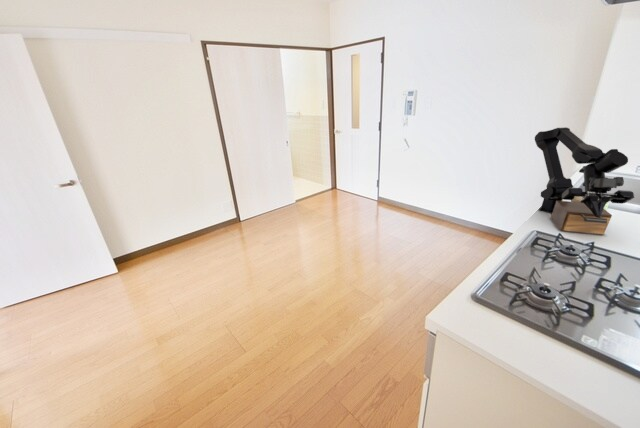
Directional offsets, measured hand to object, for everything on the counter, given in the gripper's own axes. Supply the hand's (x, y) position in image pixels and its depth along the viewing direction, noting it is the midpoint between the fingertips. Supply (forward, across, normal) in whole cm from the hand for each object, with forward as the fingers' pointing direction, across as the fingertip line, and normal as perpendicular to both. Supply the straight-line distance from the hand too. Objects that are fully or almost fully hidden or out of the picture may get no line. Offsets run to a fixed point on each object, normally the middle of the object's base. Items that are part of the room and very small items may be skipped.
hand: (598, 216), depth 101 cm
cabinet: (-1, 0, +15) cm, 15 cm away
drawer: (+1, 0, +12) cm, 12 cm away
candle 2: (-10, +11, +24) cm, 28 cm away
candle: (-9, +3, +23) cm, 25 cm away
